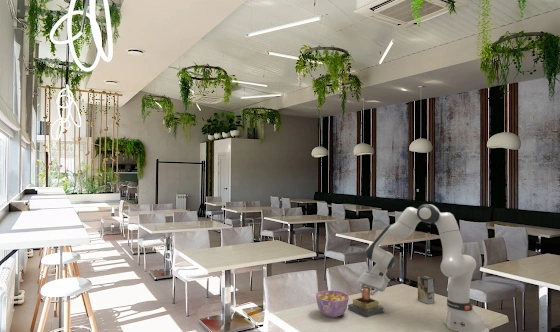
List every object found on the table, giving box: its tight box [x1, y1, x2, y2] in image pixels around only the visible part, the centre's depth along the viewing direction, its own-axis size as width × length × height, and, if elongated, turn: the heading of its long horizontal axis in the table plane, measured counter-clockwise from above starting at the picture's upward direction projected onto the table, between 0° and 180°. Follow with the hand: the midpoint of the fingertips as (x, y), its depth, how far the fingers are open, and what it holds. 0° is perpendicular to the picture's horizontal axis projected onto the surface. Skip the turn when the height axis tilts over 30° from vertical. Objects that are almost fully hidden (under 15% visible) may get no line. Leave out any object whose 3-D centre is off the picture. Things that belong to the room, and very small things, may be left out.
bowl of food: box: [315, 289, 350, 318], centre depth 231 cm, size 20×20×12 cm
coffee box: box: [417, 274, 435, 305], centre depth 256 cm, size 9×6×16 cm
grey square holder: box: [347, 296, 384, 318], centre depth 238 cm, size 15×15×6 cm
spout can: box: [359, 286, 371, 304], centre depth 237 cm, size 5×7×11 cm
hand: (365, 292), depth 238 cm, fingers open, 8 cm apart
